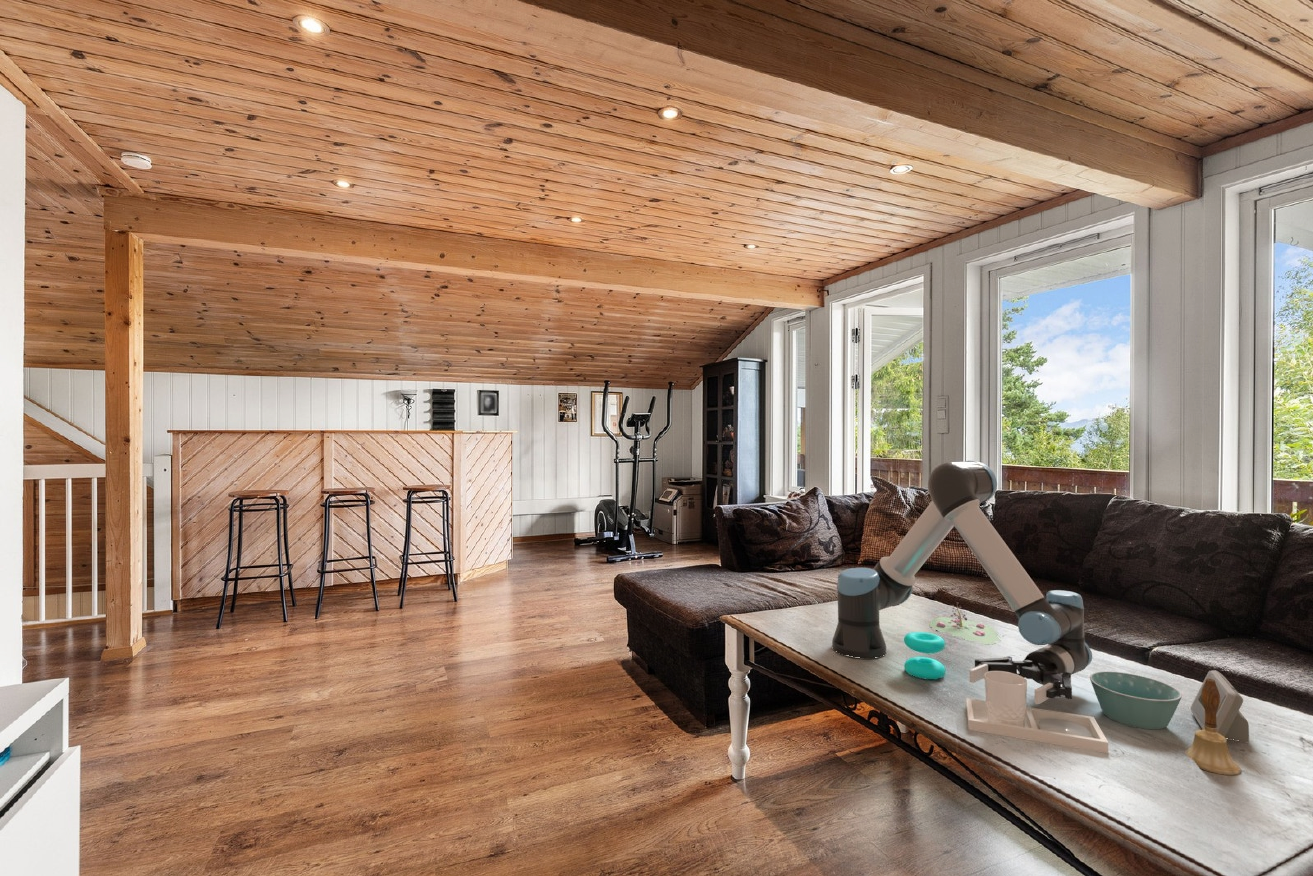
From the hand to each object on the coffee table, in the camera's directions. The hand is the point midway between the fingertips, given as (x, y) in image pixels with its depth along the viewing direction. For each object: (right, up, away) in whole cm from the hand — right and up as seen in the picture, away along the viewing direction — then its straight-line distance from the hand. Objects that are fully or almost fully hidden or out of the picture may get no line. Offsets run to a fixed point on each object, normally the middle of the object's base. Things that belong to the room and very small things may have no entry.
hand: (1002, 686), depth 130 cm
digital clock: (+44, -8, -3) cm, 45 cm away
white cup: (0, -8, -2) cm, 8 cm away
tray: (+4, -8, -3) cm, 10 cm away
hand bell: (+30, -8, -16) cm, 35 cm away
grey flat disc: (+10, -7, -6) cm, 13 cm away
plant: (+26, -10, +65) cm, 71 cm away
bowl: (+30, -9, +1) cm, 31 cm away
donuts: (-4, -9, +30) cm, 31 cm away
